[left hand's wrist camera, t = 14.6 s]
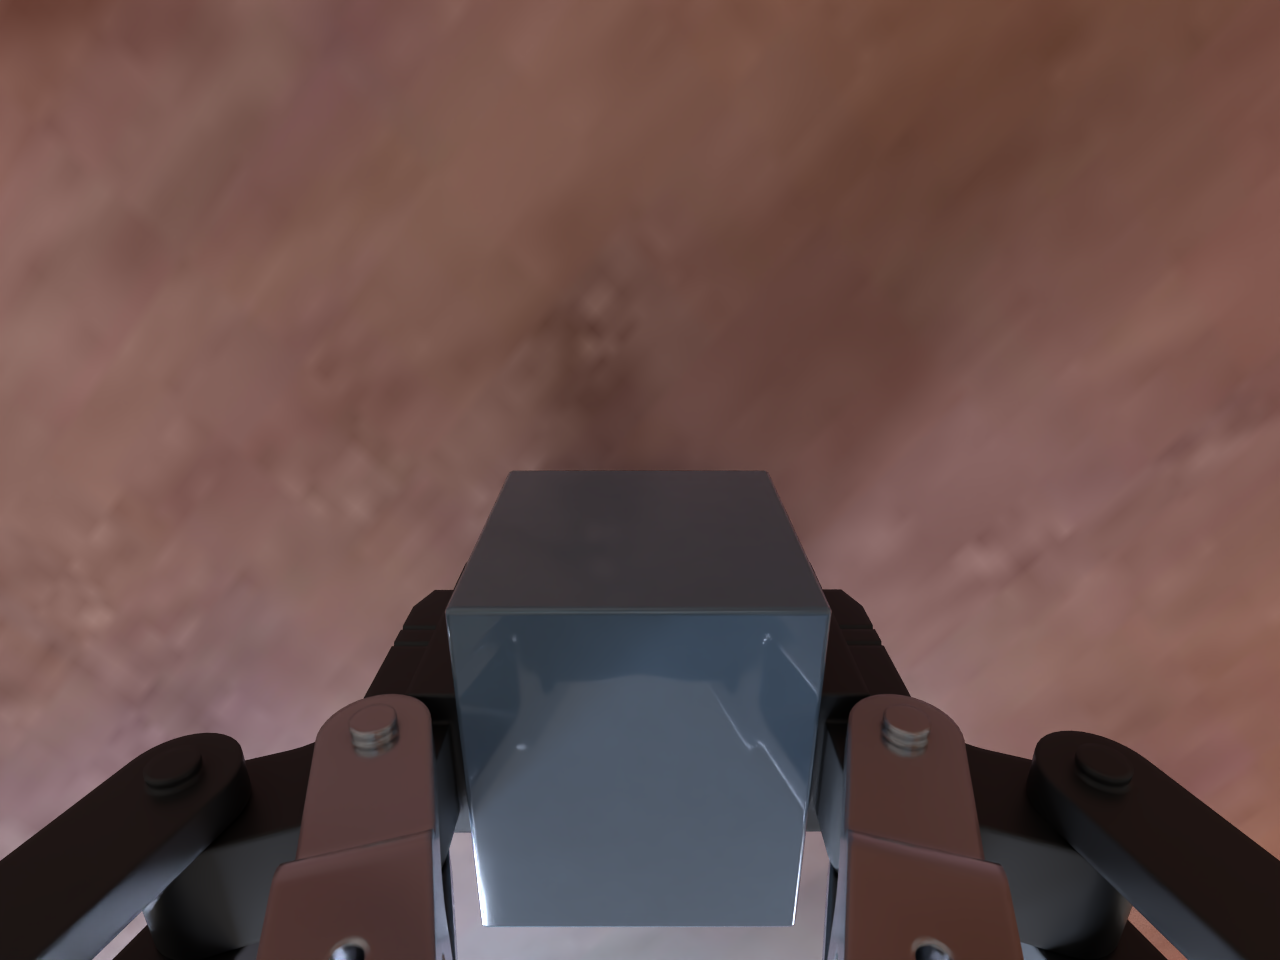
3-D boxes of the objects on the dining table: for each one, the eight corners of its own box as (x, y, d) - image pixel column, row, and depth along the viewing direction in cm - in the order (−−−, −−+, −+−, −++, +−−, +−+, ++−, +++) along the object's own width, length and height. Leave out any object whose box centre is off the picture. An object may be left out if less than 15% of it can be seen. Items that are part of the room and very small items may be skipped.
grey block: (508, 469, 12) (441, 609, 8) (768, 469, 12) (834, 609, 8) (526, 715, 14) (480, 929, 10) (750, 715, 14) (796, 929, 10)
